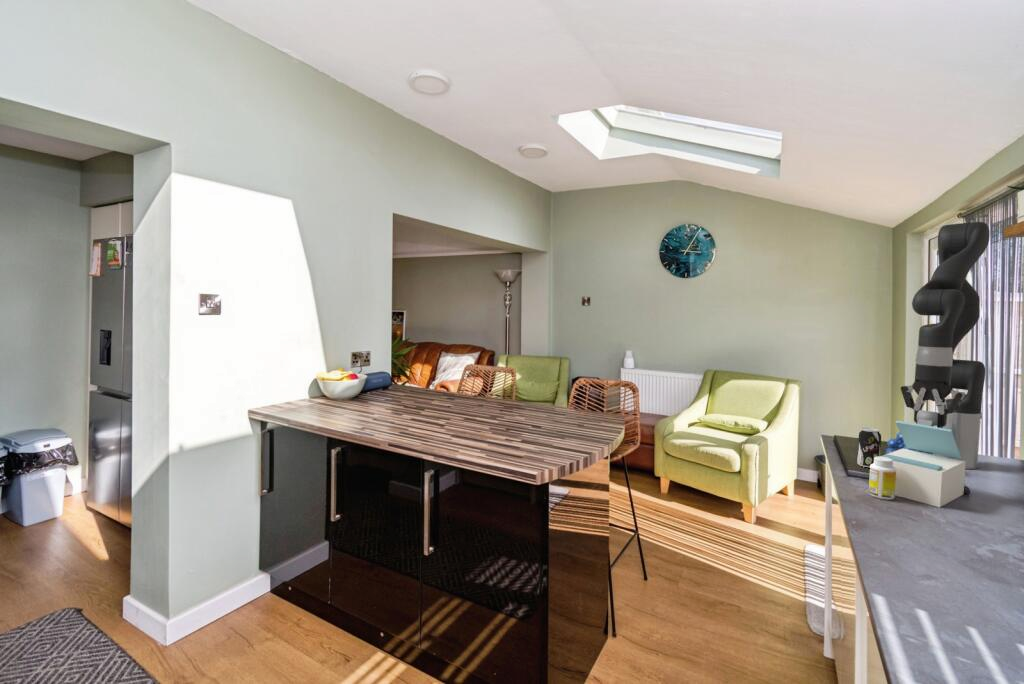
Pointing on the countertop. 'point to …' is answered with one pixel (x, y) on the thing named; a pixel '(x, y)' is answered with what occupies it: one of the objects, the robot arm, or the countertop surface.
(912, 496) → the carton
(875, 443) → the beverage can
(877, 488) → the supplement bottle
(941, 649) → the countertop surface
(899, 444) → the grapes
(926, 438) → the flap
